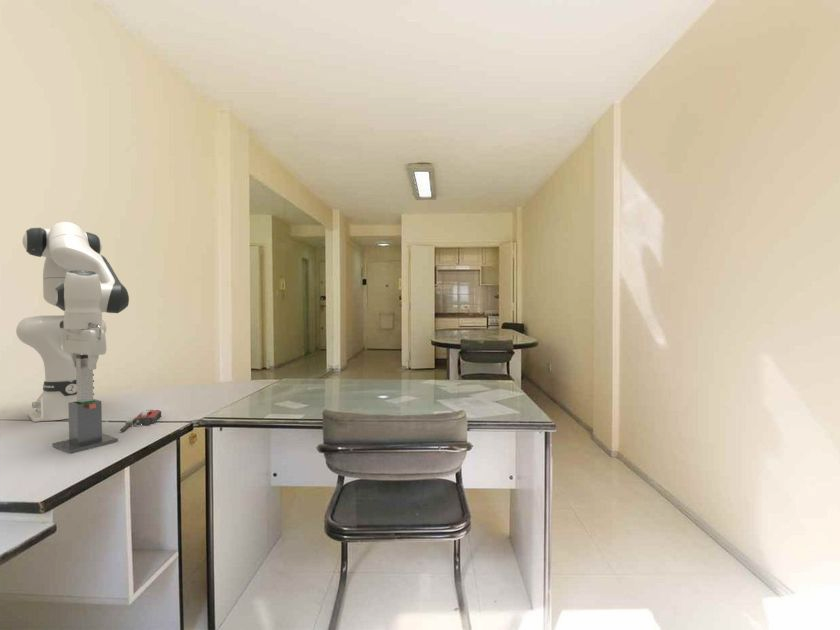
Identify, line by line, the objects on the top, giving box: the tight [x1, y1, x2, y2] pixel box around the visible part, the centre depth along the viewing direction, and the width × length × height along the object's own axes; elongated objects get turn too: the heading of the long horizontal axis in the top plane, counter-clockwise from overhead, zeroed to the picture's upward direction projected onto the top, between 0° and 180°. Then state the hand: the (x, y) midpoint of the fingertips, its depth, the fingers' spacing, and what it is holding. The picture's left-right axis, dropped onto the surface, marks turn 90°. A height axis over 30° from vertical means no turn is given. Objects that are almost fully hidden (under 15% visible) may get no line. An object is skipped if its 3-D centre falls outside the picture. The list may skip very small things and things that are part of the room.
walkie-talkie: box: [119, 409, 162, 432], centre depth 144 cm, size 9×4×20 cm
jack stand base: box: [51, 398, 119, 454], centre depth 122 cm, size 12×12×13 cm
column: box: [76, 354, 95, 404], centre depth 122 cm, size 3×4×20 cm
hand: (84, 368), depth 122 cm, fingers open, 8 cm apart
